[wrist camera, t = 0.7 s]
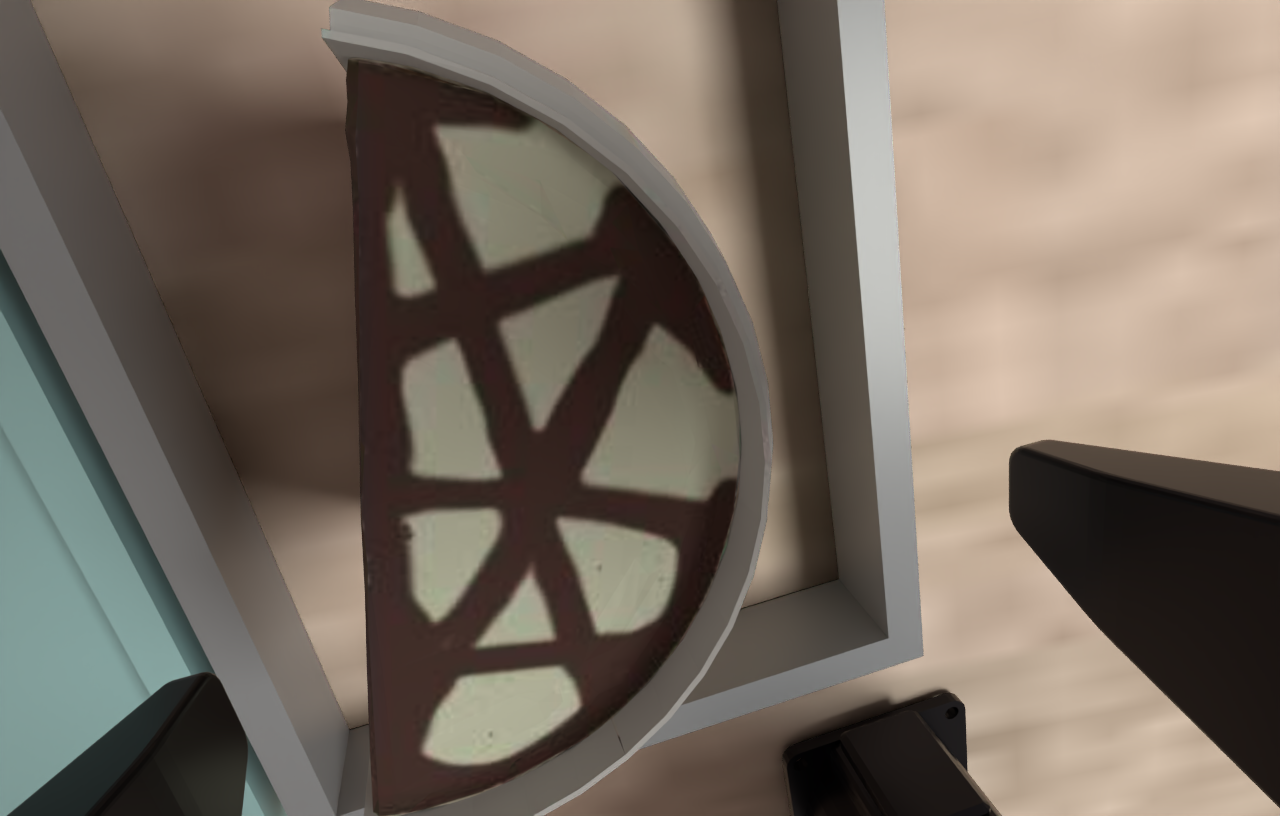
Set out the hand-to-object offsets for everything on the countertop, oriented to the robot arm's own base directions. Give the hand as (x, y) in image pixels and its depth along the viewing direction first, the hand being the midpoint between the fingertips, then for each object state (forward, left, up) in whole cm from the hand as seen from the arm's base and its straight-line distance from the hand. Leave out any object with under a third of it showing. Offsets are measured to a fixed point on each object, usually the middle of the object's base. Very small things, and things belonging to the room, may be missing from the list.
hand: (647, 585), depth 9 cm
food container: (0, 0, -12) cm, 12 cm away
